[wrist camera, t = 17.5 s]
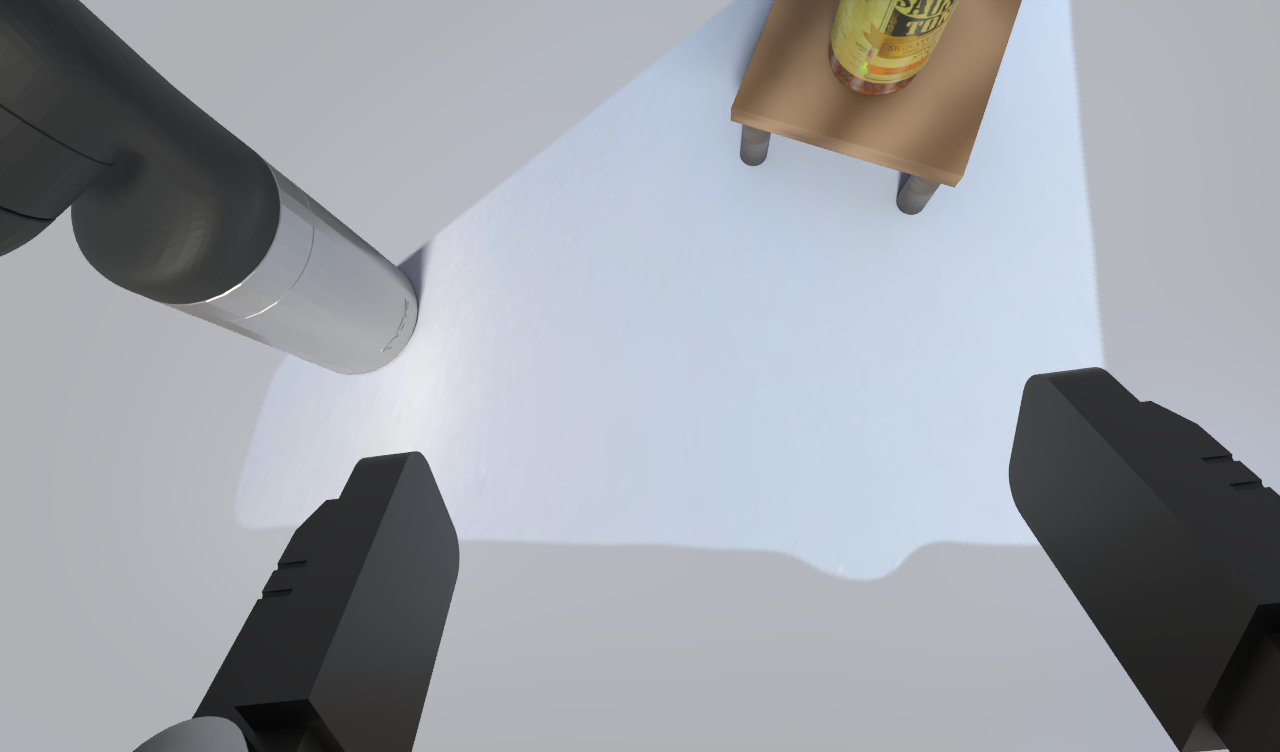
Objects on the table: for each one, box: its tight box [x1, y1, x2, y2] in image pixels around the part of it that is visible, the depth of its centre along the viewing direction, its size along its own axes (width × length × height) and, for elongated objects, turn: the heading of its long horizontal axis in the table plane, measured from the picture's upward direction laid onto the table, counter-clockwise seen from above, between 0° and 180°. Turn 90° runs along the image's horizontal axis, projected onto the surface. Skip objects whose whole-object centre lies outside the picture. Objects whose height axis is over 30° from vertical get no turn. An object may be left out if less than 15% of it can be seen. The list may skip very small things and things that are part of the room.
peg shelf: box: [731, 0, 1022, 215], centre depth 48 cm, size 15×13×8 cm
